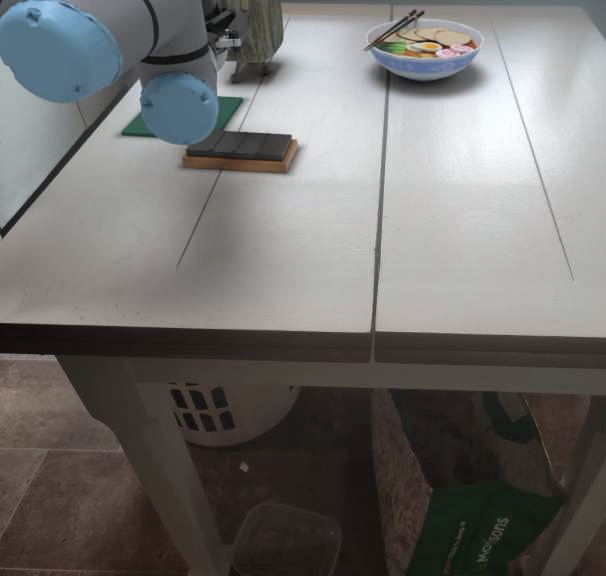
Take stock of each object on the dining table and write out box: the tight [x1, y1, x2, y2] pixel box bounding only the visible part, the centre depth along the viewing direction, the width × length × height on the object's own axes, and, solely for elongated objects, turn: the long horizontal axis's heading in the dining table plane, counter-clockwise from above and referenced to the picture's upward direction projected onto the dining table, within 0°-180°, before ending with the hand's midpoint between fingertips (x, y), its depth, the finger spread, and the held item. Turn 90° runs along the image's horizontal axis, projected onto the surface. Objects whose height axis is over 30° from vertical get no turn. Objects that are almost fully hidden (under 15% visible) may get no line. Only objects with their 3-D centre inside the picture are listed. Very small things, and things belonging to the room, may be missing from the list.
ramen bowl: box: [362, 9, 485, 83], centre depth 119 cm, size 25×23×8 cm
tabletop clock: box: [216, 0, 285, 83], centre depth 114 cm, size 14×9×25 cm, turn 171°
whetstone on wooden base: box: [181, 130, 299, 174], centre depth 95 cm, size 16×8×3 cm, turn 84°
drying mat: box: [120, 95, 244, 138], centre depth 106 cm, size 16×16×1 cm
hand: (188, 6), depth 89 cm, fingers closed on pump dispenser, 9 cm apart
